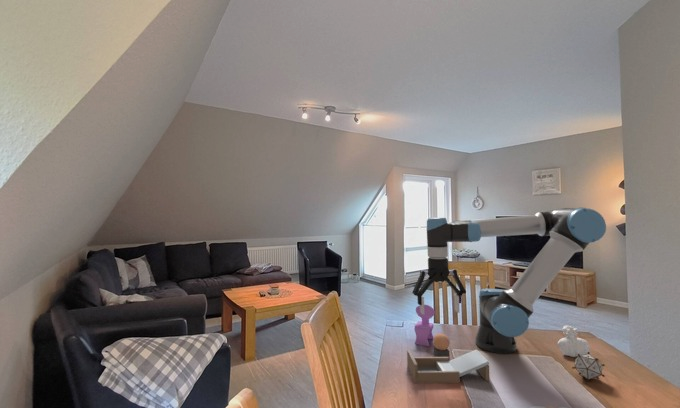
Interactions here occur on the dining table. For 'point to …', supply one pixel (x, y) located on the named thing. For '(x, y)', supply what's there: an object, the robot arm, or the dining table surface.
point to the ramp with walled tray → (446, 367)
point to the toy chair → (424, 326)
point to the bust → (573, 343)
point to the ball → (441, 342)
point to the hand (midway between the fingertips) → (439, 312)
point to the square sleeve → (441, 352)
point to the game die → (588, 366)
